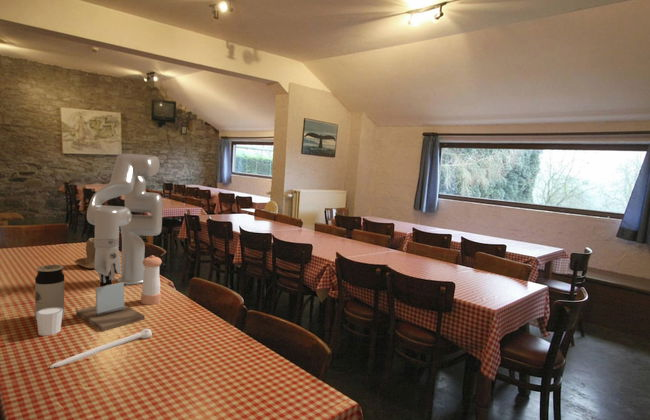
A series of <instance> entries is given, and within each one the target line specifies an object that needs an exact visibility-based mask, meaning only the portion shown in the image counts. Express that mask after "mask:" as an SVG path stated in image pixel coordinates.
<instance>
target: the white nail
mask: <svg viewBox="0 0 650 420" xmlns="http://www.w3.org/2000/svg"><path fill="white" fill-rule="evenodd" d="M152 333H153V332H152V330H151V329H149V328H144V329H142V330H141V331H140V332H137V333H134V334H131V335H128V336H125V337H123V338H120V339H117V340H114V341H111V342H107V343H105V344H103V345H100V346H96V347H94V348H91V349H89V350H85V351H83V352H80V353H77V354H76V355H73V356H70V357H67V358H65V359H63V360H59V361H57V362H54V363H53V364H51V365H50V366H49V368H50V369H53V368H54V367H55V368H58V367H61V366H65V365H68V364H70V363H73V362H76V361H79V360H82V359H85V358H88V357H91V356H93V355H95V354H98V353H101V352H103V351H107V350H109V349H112V348H114V347H117V346H122V345H123V344H126V343H129V342H132V341H135V340H138V339H149V338H151V337H152V335H153V334H152Z"/></svg>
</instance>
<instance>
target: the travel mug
mask: <svg viewBox="0 0 650 420" xmlns="http://www.w3.org/2000/svg"><path fill="white" fill-rule="evenodd" d="M63 269H64V265H61V264H46V265H41V266H38V267H36V271H37V275H36V276H35V278H34V280H35V283H34V284H35V286H34V289H35V290H34V291H35V292H34V293H35V294H34V297H35V299H34V300H35V301H34V305H35V307H34V309H35V310H34V312H35V313H34V314H35V316H34V318H35V319H34V320H35V321H37V317H36V312H37V311H39V310H41V309H45V308H51V307H59V308H62V309H63V313H62V318H63V317H64V316H65V274H64V273H63Z"/></svg>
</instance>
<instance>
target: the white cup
mask: <svg viewBox="0 0 650 420" xmlns="http://www.w3.org/2000/svg"><path fill="white" fill-rule="evenodd" d="M62 313H63V309H62V308H59V307H51V308H45V309H41V310H39V311H37V312H36V317H37V320H36V325H37V333H38V335H39V336H42V337H44V336H46V337H47V336H52V335H56V334H59V333H60V332H61V328H62V321H63V317H62Z"/></svg>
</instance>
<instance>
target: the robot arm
mask: <svg viewBox="0 0 650 420" xmlns="http://www.w3.org/2000/svg"><path fill="white" fill-rule="evenodd" d="M160 165H161V164H160V160H159V158H158V157H157V156H156V155H149V154H140V153H139V154H137V153H119V154H118V155H117V156H116V161H115V164H114V166H113V170H112V174H111V178H110V180H109V182H108V183H106V185H103V186H102V187H100V188H99V189H98V190H97V191H95V193H94V194H93V195H92V196H91V198H90V201H89V204H88V207H87V211H86V220H87V222H88V223H89V224H90V225H93V226H94V238H95V246H94V247H95V248H96V250H95V262H94V266H95V268H94V271H95V272H97V274H98V275H99V287H100V286H106V285H111V284H113V283H112V282H113V280H115V279H116V275H119V274H120V277H118V278H117V279H116V282H117V283H121V282H123V283H124V286H125V285H139V284H143V280H144V270H145V266H144V265H143V260H144V259H145V253H146V251H145V247H146V245H145V242H144V240H143V239H142V237H140V236H153V237H154V236H155V237H156V236H159V235H160V234H161V232H162V229H163V228H162V227H163V197H162V195H161V193H157V192H147V191H146V189H147V188H146V187H147V186H146V185H147V183H146V180H145V178H144V177H147V178H149V177H150V178H151V177H153V176H155V175H156V174H158V172H159V170H160V168H161V167H160ZM121 196H124V206H121V205H120V206H119V205H105V204H104V203H105V202H107V201H109V200H112V199H115V198H119V197H121ZM103 204H104V205H103ZM133 212H134V213H149V214H150V215H146V214H132V213H133ZM120 234H121V257H120V250H119V249H120V248H119V247H120Z"/></svg>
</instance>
